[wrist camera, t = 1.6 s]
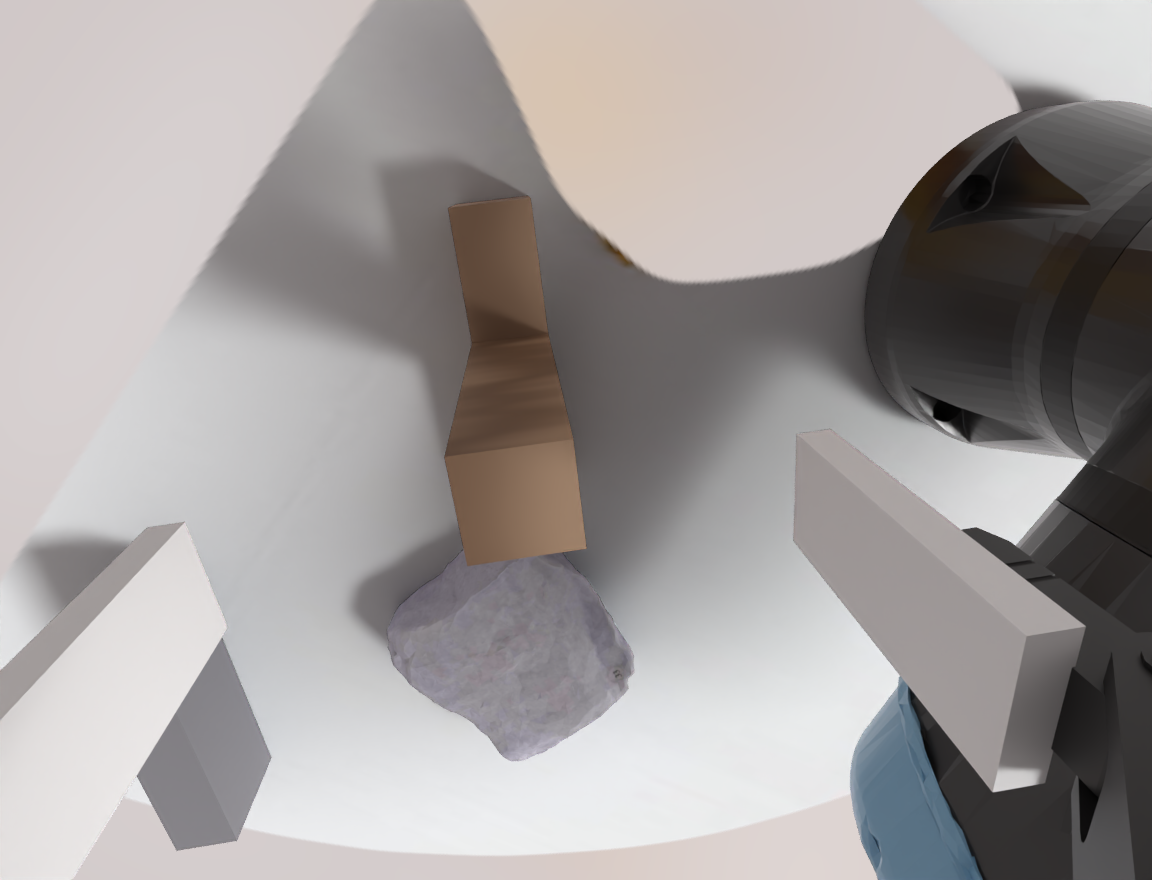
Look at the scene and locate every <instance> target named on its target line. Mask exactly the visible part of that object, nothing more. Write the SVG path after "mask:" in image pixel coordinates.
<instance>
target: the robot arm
mask: <svg viewBox="0 0 1152 880" xmlns="http://www.w3.org/2000/svg"><path fill="white" fill-rule="evenodd" d="M865 330H866V338H867V344H868V349H869V353H870V357H871V360H872V363H873V365H874V368H875V371H876V373H877V375H878V377H879V379H880V381H881V382H882V384H883V385H884V387H885V389H886V390H887V391H888V393H889V394H890V395H891V397H892V398H893V399H894V400H895V401H896V402H897V403H898V404H899V405H900V406H901V407H902V408H903V409H905V410H906V411H907V412H908V413H910V414H911V415H913V416H914V417H916V418H917V419H919V420H921V421H923V422H924V423H926V424H928V425H929V426H931V427H933V428H935V429H936V430H938V431H940V432H942V433H943V434H945V435H947V436H950V437H952V438H954V439H957V440H960V441H963V442H966V443H969V444H972V445H976V446H981V447H986V448H994V449H1002V450H1010V451H1018V452H1027V453H1035V454H1043V455H1051V456H1059V457H1067V458H1075V459H1083V460H1086V461H1088V462H1087V463H1086V465H1085V466H1084V467H1083V468H1082V470H1081V471H1080V472H1079V473H1078V474H1077V476H1076V477H1075V478H1074V479H1073V480H1072V482H1071V483H1070V484H1069V485H1068V486H1067V487H1066V489H1065V490H1064V491H1063V492H1062V493H1061V495H1060V496H1059V497H1057V498H1056V499H1055V500H1054V502H1053V503H1052V504H1051V505H1050V506H1049V507H1048V509H1047V510H1046V511H1045V512H1044V513H1043V514H1042V516H1041V517H1040V518H1039V519H1038V520H1037V522H1036V523H1035V524H1034V525H1033V526H1032V527H1031V529H1030V530H1029V531H1028V532H1027V533H1026V534H1025V536H1024V537H1023V538H1022V539H1021V540H1020V542H1019V543H1018V544H1017V545H1016V546H1015V545H1014V544H1012V543H1011V542H1009V541H1007V540H1005V539H1003V538H1000V537H998V536H996V535H993V534H991V533H988V532H986V531H984V530H981V529H979V528H977V527H976V528H970V529H963V530H960V529H959V528H958V527H957V526H955V525H954V524H953V523H951V522H950V521H949V520H948V519H946V518H945V517H944V516H942V515H941V514H940V513H938V512H937V511H936V510H935V509H933V508H932V507H931V506H929V505H928V504H927V503H926V502H924V501H923V500H922V499H920V498H919V497H918V496H917V495H915V494H914V493H913V492H911V491H910V490H909V489H907V488H906V487H905V486H904V485H902V484H901V483H900V482H898V481H897V480H896V479H895V478H893V477H892V476H891V475H889V474H888V473H887V472H885V471H884V470H883V469H882V468H880V467H879V466H878V465H876V464H875V463H874V462H873V461H871V460H870V459H869V458H867V457H866V456H865V455H863V454H862V453H861V452H860V451H858V450H857V449H856V448H854V447H853V446H852V445H851V444H849V443H848V442H847V441H845V440H844V439H843V438H841V437H840V436H839V435H838V434H836V433H835V432H834V431H832V430H831V429H827V430H820V431H813V432H806V433H799V434H797V438H796V470H795V503H794V535H793V541H794V542H795V544H796V545H797V546H798V547H799V549H800V550H801V551H802V552H803V554H804V555H805V556H806V558H807V559H808V560H809V561H810V563H811V564H812V565H813V566H814V568H815V569H816V570H817V571H818V573H819V574H820V575H821V576H822V578H823V579H824V580H825V581H826V583H827V584H828V585H829V587H830V588H831V589H832V590H833V592H834V593H835V594H836V595H837V597H838V598H839V599H840V600H841V602H842V603H843V604H844V605H845V607H846V608H847V609H848V610H849V612H850V613H851V614H852V616H853V617H854V618H855V619H856V621H857V622H858V623H859V624H860V626H861V627H862V628H863V629H864V631H865V632H866V633H867V634H868V636H869V637H870V638H871V640H872V641H873V642H874V643H875V645H876V646H877V647H878V648H879V650H880V651H881V652H882V653H883V655H884V656H885V657H886V658H887V660H888V661H889V662H890V663H891V665H892V666H893V667H894V669H895V670H896V671H897V672H898V674H899V675H900V677H899V683H898V687H897V689H896V690H895V691H894V692H893V694H892V695H891V696H890V698H889V699H888V700H887V702H886V703H885V704H884V706H883V707H882V708H881V710H880V711H879V712H878V714H877V715H876V716H875V718H874V719H873V720H872V722H871V723H870V724H869V726H868V727H867V728H866V730H865V731H864V732H863V734H862V735H861V737H860V739H859V741H858V743H857V745H856V748H855V751H854V754H853V758H852V763H851V772H850V790H851V798H852V805H853V811H854V816H855V820H856V824H857V828H858V831H859V835H860V839H861V842H862V844H863V847H864V849H865V851H866V853H867V855H868V857H869V859H870V861H871V864H872V865H873V868H874V870H875V872H876V874H877V878H878V880H1152V108H1151V107H1148V106H1145V105H1140V104H1136V103H1131V102H1121V101H1100V100H1096V101H1084V102H1075V103H1068V104H1060V105H1053V106H1047V107H1041V108H1035V109H1031V110H1027V111H1023V112H1020V113H1017V114H1014V115H1011V116H1008V117H1006V118H1004V119H1001V120H999V121H997V122H995V123H992V124H990V125H989V126H986V127H985V128H983V129H981V130H979V131H978V132H976V133H974V134H973V135H972V136H970V137H968V138H967V139H965V140H964V141H962V142H961V143H960V144H958V145H957V146H956V147H954V148H953V149H952V150H951V151H949V152H948V153H947V154H946V155H945V156H943V157H942V158H941V159H940V160H939V161H938V162H937V163H936V164H935V165H934V166H933V167H932V168H931V169H930V170H929V171H928V172H927V173H926V174H925V175H924V176H923V177H922V179H921V180H920V181H919V182H918V183H917V184H916V186H915V187H914V188H913V190H912V191H911V192H910V193H909V195H908V196H907V198H906V199H905V200H904V202H903V203H902V205H901V206H900V208H899V209H898V211H897V213H896V214H895V216H894V218H893V219H892V221H891V223H890V225H889V227H888V229H887V231H886V233H885V235H884V237H883V239H882V241H881V244H880V246H879V249H878V251H877V254H876V257H875V260H874V263H873V266H872V270H871V274H870V278H869V282H868V288H867V294H866V303H865ZM227 628H228V626H227V624H226V621H225V619H224V616H223V614H222V611H221V609H220V607H219V604H218V602H217V599H216V597H215V594H214V592H213V589H212V587H211V585H210V582H209V580H208V577H207V575H206V572H205V570H204V567H203V565H202V563H201V560H200V558H199V555H198V553H197V550H196V548H195V545H194V543H193V540H192V538H191V536H190V533H189V531H188V528H187V526H186V523H185V522H182V523H175V524H168V525H161V526H154V527H147V528H146V529H145V530H144V531H143V532H142V533H141V534H140V535H139V536H138V537H137V538H136V539H135V540H134V541H133V542H132V543H131V544H130V545H129V546H128V547H127V548H126V549H125V550H124V551H123V552H122V553H121V554H120V555H119V556H118V557H116V558H115V559H114V560H113V561H112V562H111V563H110V564H109V565H108V566H107V567H106V568H105V569H104V570H103V571H102V572H101V573H100V574H99V575H98V576H97V577H96V578H95V579H94V580H93V581H92V582H91V583H90V584H89V585H88V586H87V587H86V588H85V589H84V590H83V591H82V592H81V593H80V594H79V595H78V596H77V597H76V598H74V599H73V600H72V601H71V602H70V603H69V604H68V605H67V606H66V607H65V608H64V609H63V610H62V611H61V612H60V613H59V614H58V615H57V616H56V617H55V618H54V619H53V620H52V621H51V622H50V623H49V624H48V625H47V626H46V627H45V628H44V629H43V630H42V631H41V632H40V633H39V634H38V635H37V636H36V637H35V638H34V639H32V640H31V641H30V642H29V643H28V644H27V645H26V646H25V647H24V648H23V649H22V650H21V651H20V652H19V653H18V654H17V655H16V656H15V657H14V658H13V659H12V660H11V661H10V662H9V663H8V664H7V665H6V666H5V667H4V668H3V669H2V670H1V671H0V880H73V878H74V876H75V875H76V873H77V872H78V870H79V868H80V867H81V865H82V863H83V862H84V860H85V859H86V857H87V855H88V853H89V852H90V850H91V849H92V847H93V846H94V844H95V842H96V841H97V839H98V837H99V836H100V834H101V833H102V831H103V829H104V828H105V826H106V825H107V822H108V821H109V820H110V818H111V816H112V815H113V813H114V811H115V810H116V808H117V807H118V805H119V803H120V802H121V800H122V799H123V797H124V795H125V794H126V792H127V791H128V789H129V787H130V786H131V784H132V782H133V781H134V779H135V778H136V776H137V774H138V773H139V771H140V769H141V768H142V766H143V765H144V763H145V761H146V760H147V758H148V756H149V755H150V753H151V752H152V750H153V748H154V747H155V745H156V743H157V742H158V740H159V739H160V737H161V735H162V734H163V732H164V731H165V729H166V727H167V726H168V724H169V722H170V721H171V719H172V718H173V716H174V714H175V713H176V711H177V709H178V708H179V706H180V705H181V703H182V701H183V700H184V698H185V696H186V695H187V693H188V692H189V690H190V688H191V687H192V685H193V684H194V682H195V680H196V679H197V677H198V675H199V674H200V672H201V671H202V669H203V667H204V666H205V664H206V662H207V661H208V659H209V658H210V656H211V654H212V653H213V651H214V649H215V648H216V646H217V645H218V643H219V641H220V640H221V638H222V636H223V635H224V633H225V632H226V630H227Z"/></svg>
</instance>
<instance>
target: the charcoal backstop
mask: <svg viewBox="0 0 1152 880" xmlns="http://www.w3.org/2000/svg"><path fill="white" fill-rule="evenodd" d="M270 760H271V756H270V753H269V751H268V748H267V746H266V744H265V741H264V739H263V736H262V734H261V731H260V729H259V727H258V724H257V722H256V719H255V717H254V714H253V712H252V710H251V707H250V705H249V702H248V700H247V697H246V695H245V693H244V690H243V688H242V685H241V683H240V680H239V678H238V676H237V673H236V671H235V668H234V666H233V664H232V661H231V659H230V656H229V654H228V651H227V649H226V647H225V644H224V642H223V639H222V638H221V640H220V641H219V643H218V645H217V646H216V648H215V649H214V651H213V653H212V654H211V656H210V658H209V659H208V661H207V662H206V664H205V666H204V667H203V669H202V671H201V672H200V674H199V675H198V677H197V679H196V680H195V682H194V684H193V685H192V687H191V688H190V690H189V692H188V693H187V695H186V696H185V698H184V700H183V701H182V703H181V705H180V706H179V708H178V709H177V711H176V713H175V714H174V716H173V718H172V719H171V721H170V722H169V724H168V726H167V727H166V729H165V731H164V732H163V734H162V735H161V737H160V739H159V740H158V742H157V743H156V745H155V747H154V748H153V750H152V752H151V753H150V755H149V756H148V758H147V760H146V761H145V763H144V765H143V766H142V768H141V769H140V771H139V773H138V774H137V777H138V779H139V781H140V783H141V785H142V787H143V789H144V790H145V792H146V794H147V796H148V798H149V800H150V802H151V804H152V805H153V807H154V809H155V811H156V813H157V815H158V817H159V818H160V820H161V822H162V824H163V826H164V828H165V830H166V831H167V833H168V835H169V837H170V839H171V840H172V843H173V844H174V846H175V848H176V850H177V851H178V850H183V849H190V848H196V847H202V846H208V845H214V844H220V843H226V842H232V841H237V839H238V837H239V834H240V832H241V830H242V827H243V825H244V822H245V820H246V818H247V815H248V813H249V810H250V808H251V806H252V803H253V801H254V798H255V796H256V794H257V791H258V789H259V786H260V784H261V781H262V779H263V777H264V774H265V772H266V769H267V767H268V765H269V762H270Z"/></svg>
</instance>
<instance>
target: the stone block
mask: <svg viewBox="0 0 1152 880" xmlns="http://www.w3.org/2000/svg"><path fill="white" fill-rule="evenodd" d="M387 637H388V641H389V645H388V649H389V651H390V654H391V659H392V662H393V665H394V666H395V667H396V668H397V670H398V671H399V672H400V673H401V674H402V675H403V676H404V677H405V678H406V679H407V681H408V682H409V684H410V685H412V686H413V687H414V688H415V689H417V690H418V691H419V692H420V693H422V694H423V695H425V696H427V697H428V698H430V699H431V700H432V701H433V702H435V703H437V704H439V705H440V706H442V707H443V708H445V709H447V710H449V711H452V712H455V713H458V714H460V715H461V716H463V717H465V718H467V719H468V720H470V721H471V722H472V723H474V724H475V725H476V727H477V728H478V729H479V730H480V731H481V732H483V733H484V734H486V735H487V736H488V737H489V738H490V740H491V741H492V743H493V744H494V745H495V747H496V748H497V750H498V751H499V753H500V754H501V755H502V756H503V757H505V758H506V759H508V760H510V761H522V760H525V759H528V758H530V757H532V756H534V755H536V754H540V753H543V752H545V751H547V749H549V748H552V747H553V746H555V745H557V744H558V743H559V742H560V741H562V740H564V739H566V738H568V737H569V736H571V735H573V734H574V733H576V732H577V731H579V730H580V729H582V728H584V727H585V726H587V725H588V724H589V723H591V722H593V721H594V720H596V719H597V718H599V717H600V716H601V715H602V714H604V713H605V712H606V711H607V710H608V709H609V708H610V707H611V706H612V705H613V704H614V703H615V702H617V701H618V700H619V698H620V697H621V696H622V695H623V694H625V692H626V691H627V690H628V678H629V677H630V676H631V675H632V674H633V673H634V665H633V659H634V655H633V653H632V650H631V648H630V646H629V645H628V643H627V642H626V640H625V639H624V637H623V636H622V635H621V633H620V632H619V630H618V629H617V627H616V626H615V624H614V621H613V619H612V617H611V615H609V613H608V612H607V611H606V610H605V608H604V605H603V604H602V602H601V600H600V597H599V596H598V594H597V593H596V592H595V591H594V589H593V587H592V586H591V584H590V583H589V581H588V580H587V579H586V578H585V576H583V575H582V574H581V573H580V572H578V571H577V570H576V569H575V568H574V566H573V565H572V564H571V563H570V562H569V561H568V560H567V559H566V557H565V555H564V554H563V553H554V554H547V555H540V556H534V557H527V558H520V559H513V560H506V561H499V562H493V563H486V564H479V565H472V566H467V562H466V558H465V553H464V549H463V550H462V551H461V552H460V553H459V554H458V555H457V557H456V558H455V559H454V560H453V561H452V562H450V563H448V564H447V566H446V568H445V569H444V571H443V573H441V574H440V575H438V576H437V577H436V578H435V579H433V580H431V581H429V582H427V583H426V584H425V585H423V586H421V587H420V588H419V589H418V590H417V591H416V592H414V593H413V594H412V595H411V596H410V597H409V598H408V599H407V600H406V601H405V602H404V603H402V604H400V606H399V608H398V609H397V610H396V612H395V614H394V616H393V618H392V620H391V622H390V625H389V627H388V629H387Z"/></svg>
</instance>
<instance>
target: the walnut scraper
mask: <svg viewBox="0 0 1152 880" xmlns="http://www.w3.org/2000/svg"><path fill="white" fill-rule="evenodd" d="M448 211H449V217H450V222H451V228H452V234H453V239H454V245H455V251H456V256H457V262H458V267H459V273H460V279H461V284H462V290H463V296H464V301H465V307H466V312H467V318H468V324H469V329H470V335H471V341H472V345H471V349H470V354H469V358H468V362H467V366H466V370H465V374H464V378H463V382H462V386H461V391H460V395H459V399H458V403H457V407H456V411H455V415H454V419H453V423H452V427H451V432H450V436H449V440H448V444H447V448H446V452H445V456H444V458H445V463H446V467H447V472H448V477H449V482H450V486H451V491H452V496H453V501H454V505H455V510H456V515H457V520H458V524H459V529H460V534H461V539H462V543H463V548H464V553H465V558H466V562H467V566H472V565H479V564H486V563H493V562H499V561H506V560H513V559H520V558H527V557H534V556H540V555H547V554H554V553H561V552H568V551H575V550H581V549H587V548H586V539H585V531H584V523H583V515H582V506H581V498H580V490H579V482H578V473H577V465H576V457H575V449H574V440H573V436H572V431H571V427H570V423H569V419H568V415H567V410H566V406H565V402H564V398H563V394H562V389H561V385H560V381H559V377H558V373H557V368H556V364H555V360H554V356H553V352H552V348H551V343H550V339H549V335H548V329H547V321H546V313H545V305H544V298H543V290H542V282H541V274H540V266H539V259H538V251H537V243H536V235H535V228H534V220H533V212H532V204H531V198H530V197H529V196H520V197H512V198H504V199H495V200H487V201H479V202H471V203H462V204H456V205H454V206H451V207H449V208H448Z"/></svg>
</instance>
